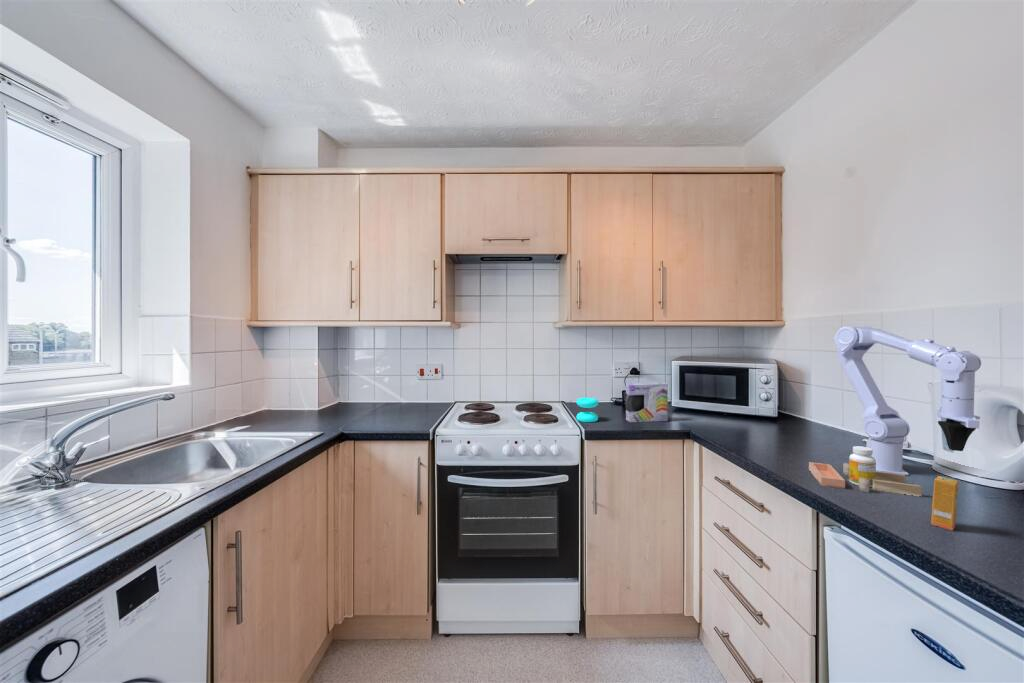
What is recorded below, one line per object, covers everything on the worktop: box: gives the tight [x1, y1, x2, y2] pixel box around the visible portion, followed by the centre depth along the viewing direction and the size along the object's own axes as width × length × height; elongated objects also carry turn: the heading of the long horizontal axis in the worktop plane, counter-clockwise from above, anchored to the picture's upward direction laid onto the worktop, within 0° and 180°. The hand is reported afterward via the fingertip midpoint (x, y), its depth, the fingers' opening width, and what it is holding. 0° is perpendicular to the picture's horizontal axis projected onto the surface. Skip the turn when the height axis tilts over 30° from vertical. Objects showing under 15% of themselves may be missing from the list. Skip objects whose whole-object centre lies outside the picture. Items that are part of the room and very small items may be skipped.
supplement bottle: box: [848, 445, 876, 488], centre depth 107 cm, size 5×5×10 cm
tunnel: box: [842, 462, 923, 497], centre depth 106 cm, size 15×12×3 cm
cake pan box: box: [624, 382, 669, 423], centre depth 182 cm, size 19×5×18 cm, turn 92°
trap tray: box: [808, 461, 846, 490], centre depth 111 cm, size 14×5×2 cm, turn 154°
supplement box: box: [930, 475, 959, 531], centre depth 83 cm, size 3×3×10 cm
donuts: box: [576, 397, 599, 423], centre depth 183 cm, size 10×10×10 cm
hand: (955, 450), depth 103 cm, fingers closed
